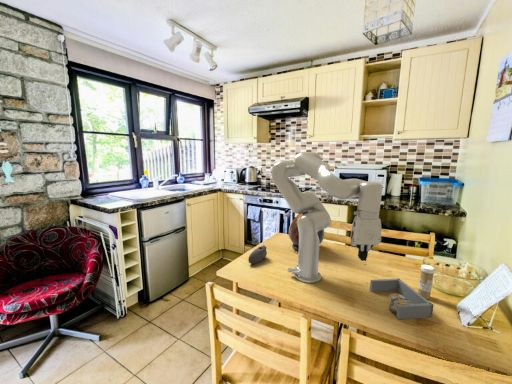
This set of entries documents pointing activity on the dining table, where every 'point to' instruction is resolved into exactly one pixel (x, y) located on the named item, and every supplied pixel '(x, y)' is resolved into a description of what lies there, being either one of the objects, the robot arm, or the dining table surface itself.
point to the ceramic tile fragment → (397, 301)
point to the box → (406, 311)
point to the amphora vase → (295, 233)
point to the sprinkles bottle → (426, 281)
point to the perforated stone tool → (257, 255)
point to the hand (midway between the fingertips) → (362, 259)
